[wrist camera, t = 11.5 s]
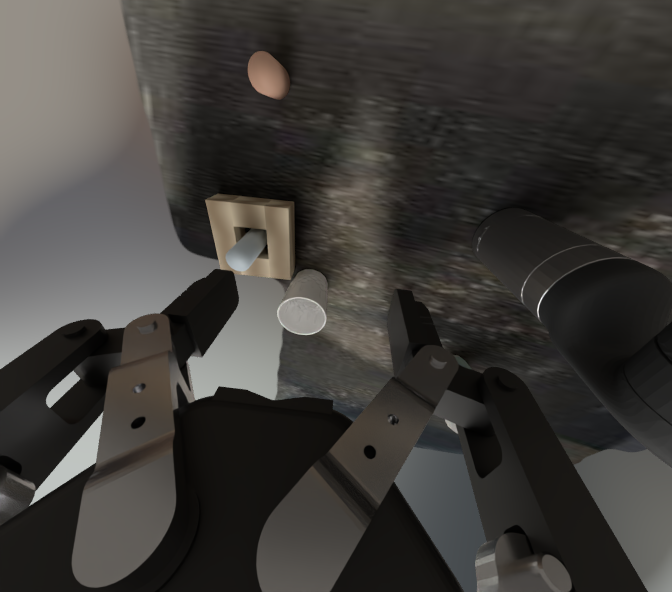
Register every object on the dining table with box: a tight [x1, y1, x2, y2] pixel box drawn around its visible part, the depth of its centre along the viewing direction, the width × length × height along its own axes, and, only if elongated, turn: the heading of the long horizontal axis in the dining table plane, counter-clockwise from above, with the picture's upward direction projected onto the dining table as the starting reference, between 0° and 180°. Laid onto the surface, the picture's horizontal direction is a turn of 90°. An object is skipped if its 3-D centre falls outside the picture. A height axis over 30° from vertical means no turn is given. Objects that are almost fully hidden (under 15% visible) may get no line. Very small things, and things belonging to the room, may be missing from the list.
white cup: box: [277, 269, 328, 335], centre depth 42 cm, size 8×8×10 cm
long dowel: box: [226, 228, 267, 271], centre depth 37 cm, size 3×3×10 cm
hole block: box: [206, 194, 295, 280], centre depth 39 cm, size 12×12×4 cm
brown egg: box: [248, 51, 290, 100], centre depth 27 cm, size 3×3×5 cm
